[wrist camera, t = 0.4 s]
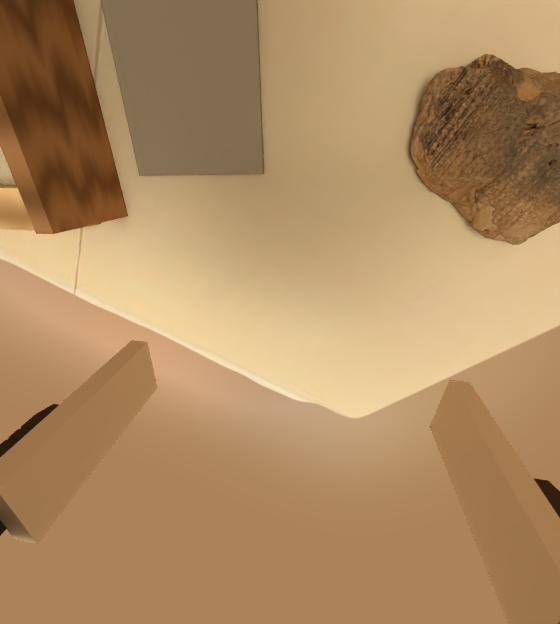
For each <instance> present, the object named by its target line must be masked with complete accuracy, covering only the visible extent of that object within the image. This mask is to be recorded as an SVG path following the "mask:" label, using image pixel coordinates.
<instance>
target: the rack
mask: <svg viewBox="0 0 560 624" xmlns="http://www.w3.org/2000/svg"><path fill="white" fill-rule="evenodd" d="M0 146H1V149H2V151H3V154H4V156H5V158H6V161H7V163H8V166H9V168H10V171H11V173H12V176H13V178H14V180H15V183H16V185H17V188H18V190H19V193H20V195H21V198H22V200H23V202H24V205H25V207H26V210H27V212H28V215H29V217H30V220H31V222H32V224H33V227H34V229H35V232H36V234H55V233H59V232H63V231H68V230H72V229H76V228H80V227H84V226H88V225H93V224H97V223H101V222H105V221H109V220H113V219H117V218H122V217H126V216H128V214H127V211H126V207H125V203H124V199H123V195H122V191H121V187H120V183H119V179H118V175H117V171H116V167H115V163H114V159H113V155H112V152H111V148H110V144H109V140H108V136H107V132H106V128H105V124H104V120H103V116H102V112H101V108H100V104H99V100H98V96H97V92H96V89H95V85H94V81H93V77H92V73H91V69H90V65H89V61H88V57H87V53H86V49H85V45H84V41H83V37H82V33H81V29H80V26H79V22H78V18H77V14H76V10H75V6H74V2H73V0H0Z"/></svg>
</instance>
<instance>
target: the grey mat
mask: <svg viewBox="0 0 560 624" xmlns="http://www.w3.org/2000/svg"><path fill="white" fill-rule="evenodd" d="M101 4H102V8H103V13H104V17H105V22H106V26H107V31H108V35H109V40H110V44H111V49H112V53H113V58H114V62H115V67H116V72H117V76H118V81H119V85H120V90H121V94H122V99H123V103H124V108H125V112H126V117H127V121H128V126H129V130H130V135H131V139H132V144H133V148H134V153H135V157H136V162H137V166H138V171H139V175H140V176H154V175H218V174H264V164H263V137H262V111H261V85H260V58H259V32H258V6H257V0H101Z"/></svg>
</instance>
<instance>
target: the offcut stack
mask: <svg viewBox="0 0 560 624" xmlns="http://www.w3.org/2000/svg"><path fill="white" fill-rule="evenodd" d="M97 224H101V223H97ZM97 224H93V225H97ZM93 225H88V226H93ZM84 227H85V226H84ZM80 228H81V227H80ZM0 229H10V230H35V229H34V227H33V224H32V222H31V220H30V217H29V215H28V212H27V210H26V207H25V205H24V202H23V200H22V198H21V195H20V193H19V190H18V188H17V185H0ZM76 229H77V228H76Z"/></svg>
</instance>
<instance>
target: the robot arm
mask: <svg viewBox="0 0 560 624" xmlns="http://www.w3.org/2000/svg"><path fill="white" fill-rule="evenodd" d="M156 389H157V384H156V379H155V375H154V370H153V366H152V362H151V357H150V352H149V348H148V343H147V342H141V341H133V340H132V341H130V342H129V343H128V344H127V345H126V346H125V347H124V348H123V349H121V350H120V351H119V352H118V353H117V354H116V355H115V356H114V357H112V359H110V360H109V361H108V362H107V363H106V364H105V365H104V366H103V367H101V368H100V369H99V370H98V371H97V372H96V373H95V374H93V375H92V376H91V377H90V378H89V379H88V380H87V381H86V382H85V383H83V384H82V385H81V386H80V387H79V388H78V389H77V390H76V391H74V392H73V393H72V394H71V395H70V396H69V397H68V398H67V399H65V400H64V401H63V402H62V403H61V404H60V405H57V404H53V405H51V406H49V407H47V408H46V409H44V410H42V411H41V412H39V413H37V414H36V415H34V416H33V417H32V418H31V419H30V420H28V421H27V422H26V423H25V424H24V425H23V426H21V429H18V430H17V431H15V432H14V433H13V434H12V435H11V436H10V437H9V439H8V440H5V441H4V442H3V443H1V444H0V535H1V534H2V533H3V532H4V531H5V530H6V529H7V530H8V531H9V532H10V534H11V535H12V536H13V537H14V539H17V540H22V541H26V542H31V543H36V544H38V543H39V541H40V540H41V539H42V538H43V536H44V535H45V534H46V532H47V531H48V530H49V528H50V527H51V526H52V525H53V523H54V522H55V520H56V519H57V518H58V517H59V515H60V514H61V513H62V511H63V510H64V509H65V508H66V506H67V505H68V504H69V502H70V501H71V500H72V498H73V497H74V496H75V494H76V493H77V492H78V490H79V489H80V488H81V487H82V485H83V484H84V482H85V481H86V480H87V479H88V478H89V476H90V475H91V474H92V472H93V471H94V470H95V468H96V467H97V466H98V464H99V463H100V462H101V460H102V459H103V458H104V456H105V455H106V454H107V453H108V451H109V450H110V449H111V447H112V446H113V445H114V443H115V442H116V441H117V440H118V438H119V437H120V436H121V434H122V433H123V432H124V430H125V429H126V428H127V427H128V425H129V424H130V423H131V421H132V420H133V419H134V417H135V416H136V415H137V413H138V412H139V411H140V410H141V408H142V407H143V406H144V404H145V403H146V402H147V400H148V399H149V398H150V397H151V395H152V394H153V393H154V391H155V390H156ZM430 428H431V431H432V433H433V436H434V438H435V441H436V443H437V446H438V449H439V451H440V454H441V456H442V459H443V461H444V463H445V466H446V469H447V471H448V474H449V476H450V479H451V481H452V484H453V486H454V489H455V492H456V494H457V496H458V499H459V502H460V504H461V507H462V509H463V511H464V514H465V517H466V519H467V522H468V524H469V527H470V529H471V532H472V534H473V537H474V540H475V542H476V545H477V547H478V550H479V552H480V555H481V557H482V560H483V562H484V565H485V567H486V570H487V572H488V575H489V577H490V580H491V582H492V585H493V587H494V590H495V593H496V595H497V597H498V600H499V603H500V605H501V607H502V610H503V613H504V615H505V618H506V620H507V623H508V624H560V491H559V490H558V489H556V488H555V487H554V486H553V485H552V484H551V483H550V482H549V481H547V480H540V479H534V478H533V477H532V476H531V474H530V473H529V471H528V469H527V468H526V467H525V465H524V464H523V462H522V461H521V459H520V458H519V456H518V454H517V453H516V452H515V450H514V448H513V447H512V445H511V444H510V442H509V441H508V439H507V438H506V436H505V435H504V433H503V432H502V430H501V429H500V427H499V426H498V424H497V423H496V421H495V420H494V418H493V417H492V415H491V414H490V412H489V411H488V409H487V408H486V406H485V405H484V403H483V402H482V400H481V399H480V397H479V396H478V394H477V392H476V391H475V390H474V388H473V387H472V385H471V383H470V382H463V381H455V380H449V382H448V385H447V387H446V390H445V392H444V394H443V397H442V399H441V401H440V404H439V407H438V409H437V411H436V414H435V415H434V418H433V420H432V423H431V425H430Z"/></svg>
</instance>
